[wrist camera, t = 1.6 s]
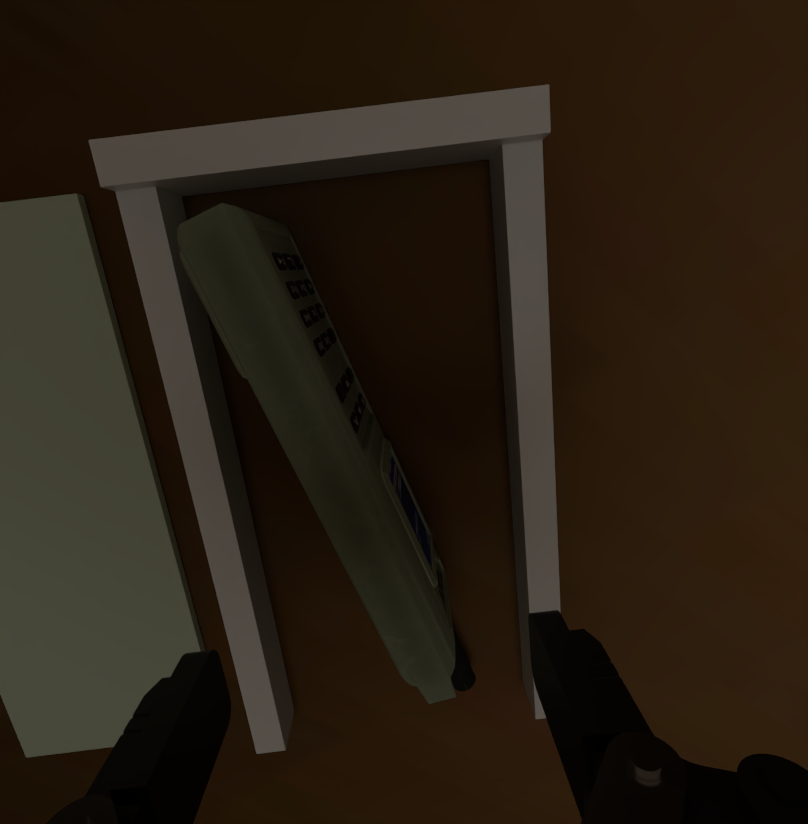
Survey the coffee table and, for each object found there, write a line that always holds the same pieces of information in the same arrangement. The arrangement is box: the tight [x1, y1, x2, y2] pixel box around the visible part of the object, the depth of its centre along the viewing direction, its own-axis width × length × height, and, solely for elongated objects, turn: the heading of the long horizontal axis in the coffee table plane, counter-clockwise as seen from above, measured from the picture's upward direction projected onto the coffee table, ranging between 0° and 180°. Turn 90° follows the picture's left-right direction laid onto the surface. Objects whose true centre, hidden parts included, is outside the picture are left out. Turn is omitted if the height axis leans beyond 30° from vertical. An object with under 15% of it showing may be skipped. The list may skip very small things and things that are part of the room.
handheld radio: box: [177, 203, 476, 704], centre depth 22 cm, size 7×3×25 cm
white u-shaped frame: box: [89, 85, 560, 754], centre depth 23 cm, size 16×28×4 cm, turn 7°
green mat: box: [0, 193, 206, 758], centre depth 24 cm, size 11×28×1 cm, turn 7°
